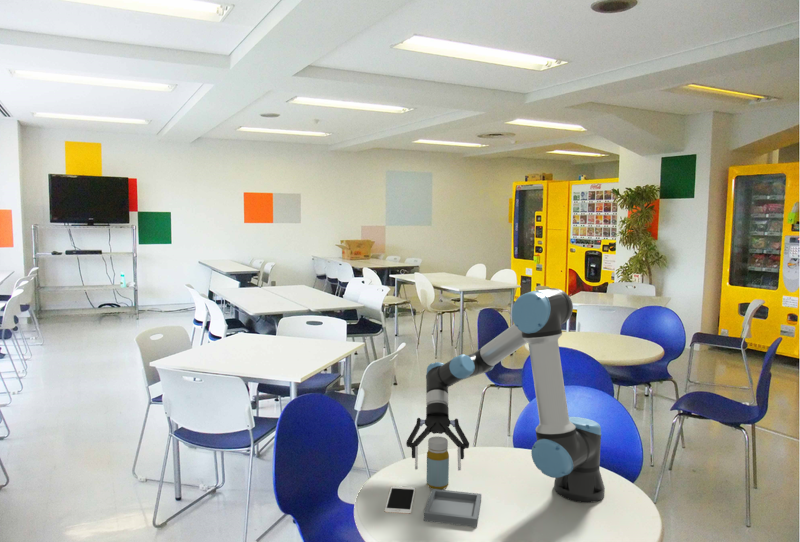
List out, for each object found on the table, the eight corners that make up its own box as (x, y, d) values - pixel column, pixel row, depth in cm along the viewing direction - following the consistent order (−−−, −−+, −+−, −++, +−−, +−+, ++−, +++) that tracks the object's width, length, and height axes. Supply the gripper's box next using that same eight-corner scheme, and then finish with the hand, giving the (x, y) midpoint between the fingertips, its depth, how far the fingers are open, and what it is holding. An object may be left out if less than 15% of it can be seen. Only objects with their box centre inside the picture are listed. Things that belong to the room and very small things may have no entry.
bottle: (449, 490, 183) (449, 444, 181) (426, 490, 183) (427, 444, 182) (447, 480, 190) (448, 436, 188) (426, 480, 190) (426, 435, 188)
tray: (481, 501, 176) (481, 493, 176) (476, 527, 161) (477, 519, 161) (432, 496, 179) (432, 488, 179) (423, 520, 165) (423, 512, 164)
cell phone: (384, 513, 169) (384, 511, 169) (391, 487, 185) (391, 486, 185) (410, 515, 169) (410, 513, 169) (415, 489, 184) (415, 487, 184)
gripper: (473, 412, 199) (476, 473, 186) (400, 410, 200) (398, 471, 187) (475, 401, 194) (478, 464, 180) (400, 400, 195) (398, 462, 181)
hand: (437, 468), depth 183 cm, fingers open, 13 cm apart
